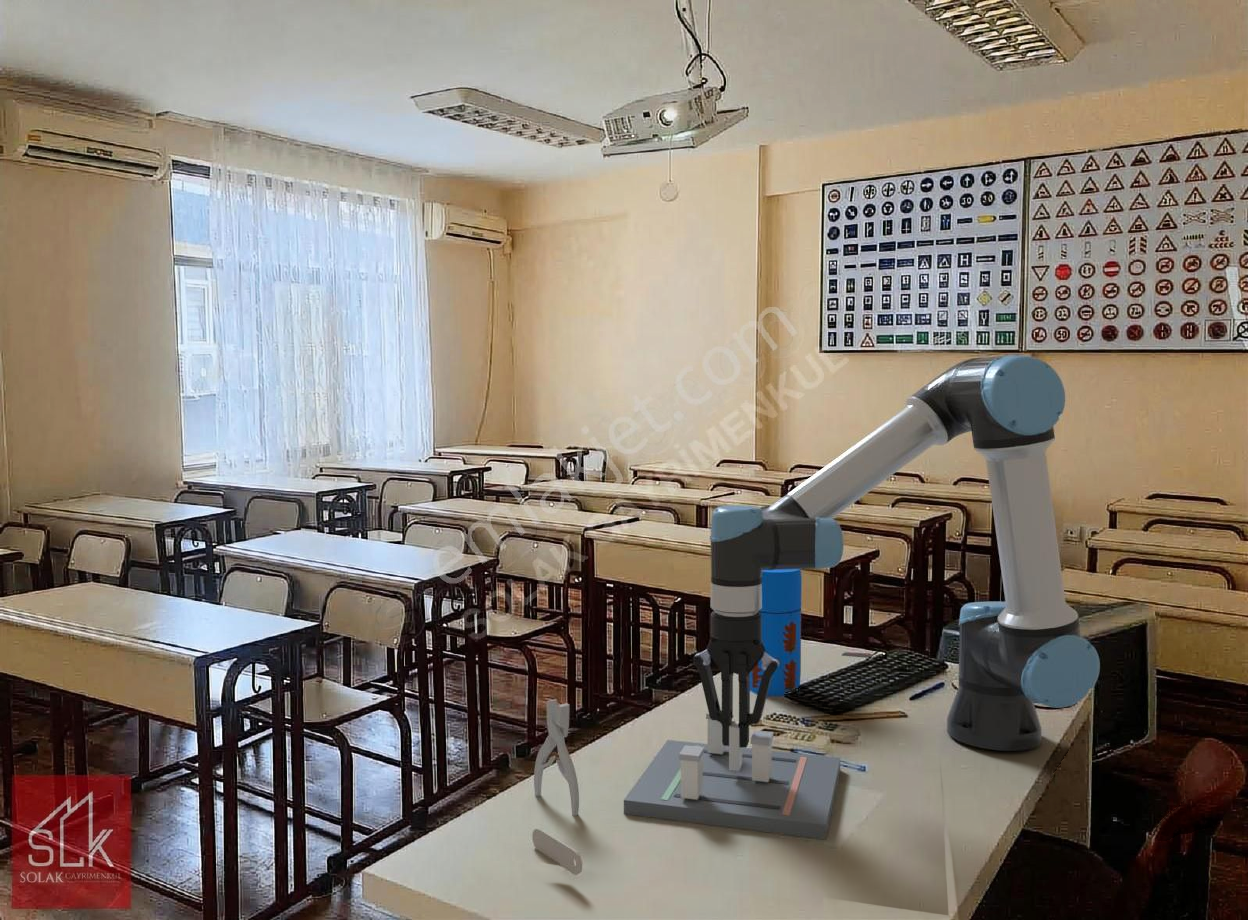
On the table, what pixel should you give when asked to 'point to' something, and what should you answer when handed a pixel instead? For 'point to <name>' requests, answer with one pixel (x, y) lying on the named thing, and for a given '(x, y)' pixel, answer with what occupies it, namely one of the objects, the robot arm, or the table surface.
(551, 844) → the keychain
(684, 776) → the block
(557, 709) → the pliers
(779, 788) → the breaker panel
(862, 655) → the usb drive
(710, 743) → the block
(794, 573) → the thermos
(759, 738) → the block
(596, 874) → the table surface
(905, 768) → the table surface
